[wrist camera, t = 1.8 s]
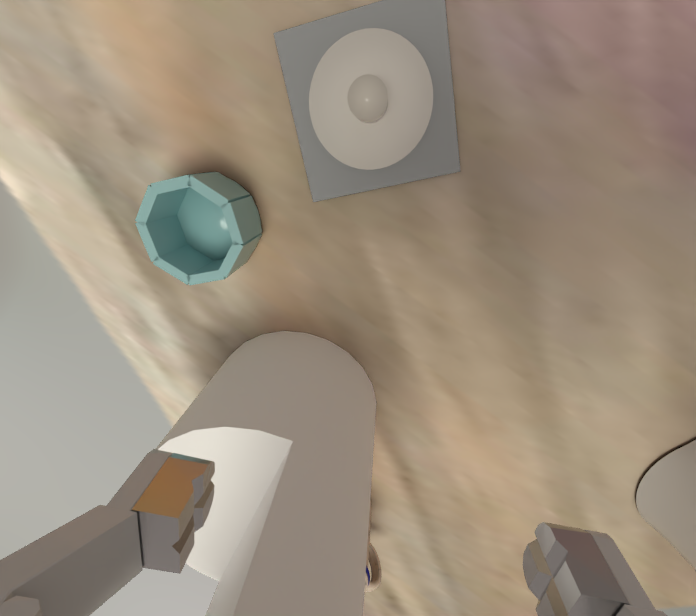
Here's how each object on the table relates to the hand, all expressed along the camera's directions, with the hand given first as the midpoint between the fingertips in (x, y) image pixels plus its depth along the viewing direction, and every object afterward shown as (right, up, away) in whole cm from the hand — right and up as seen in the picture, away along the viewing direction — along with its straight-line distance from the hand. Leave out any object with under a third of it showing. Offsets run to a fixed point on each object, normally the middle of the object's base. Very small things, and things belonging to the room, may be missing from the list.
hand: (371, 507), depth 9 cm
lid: (+1, +20, +18) cm, 27 cm away
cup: (-12, +13, +24) cm, 29 cm away
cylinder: (-6, -5, +31) cm, 32 cm away
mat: (+1, +20, +19) cm, 28 cm away
